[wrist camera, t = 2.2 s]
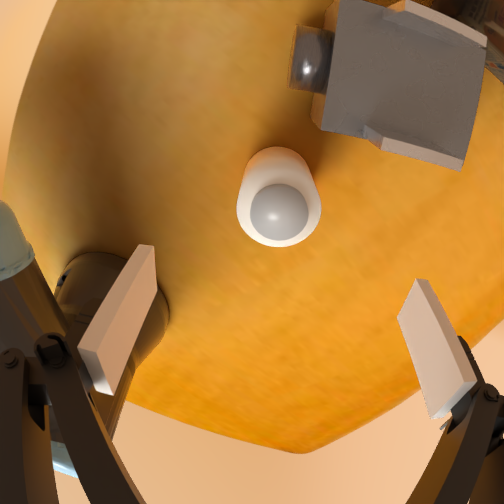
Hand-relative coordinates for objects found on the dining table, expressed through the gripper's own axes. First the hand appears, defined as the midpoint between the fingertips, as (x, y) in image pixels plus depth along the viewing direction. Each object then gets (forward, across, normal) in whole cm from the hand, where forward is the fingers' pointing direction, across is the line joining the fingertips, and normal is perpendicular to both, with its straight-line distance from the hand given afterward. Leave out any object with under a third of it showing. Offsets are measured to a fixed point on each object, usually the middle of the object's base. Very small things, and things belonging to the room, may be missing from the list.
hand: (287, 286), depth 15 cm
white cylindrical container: (+16, 0, 0) cm, 16 cm away
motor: (+16, +6, +11) cm, 20 cm away
